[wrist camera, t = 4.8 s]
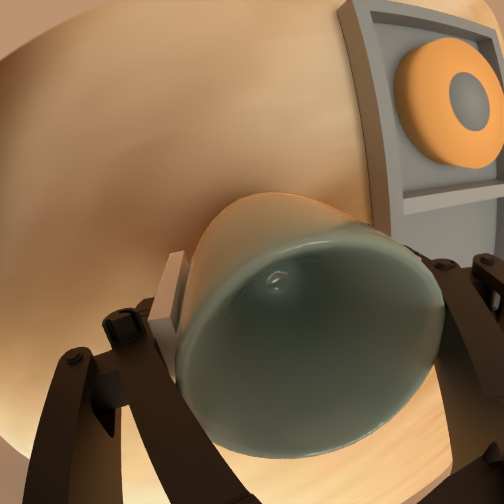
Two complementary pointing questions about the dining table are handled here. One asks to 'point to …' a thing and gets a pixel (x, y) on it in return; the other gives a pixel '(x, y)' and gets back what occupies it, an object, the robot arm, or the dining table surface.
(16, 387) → the dining table surface
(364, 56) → the tray
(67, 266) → the dining table surface
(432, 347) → the cup
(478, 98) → the orange round thick disc
